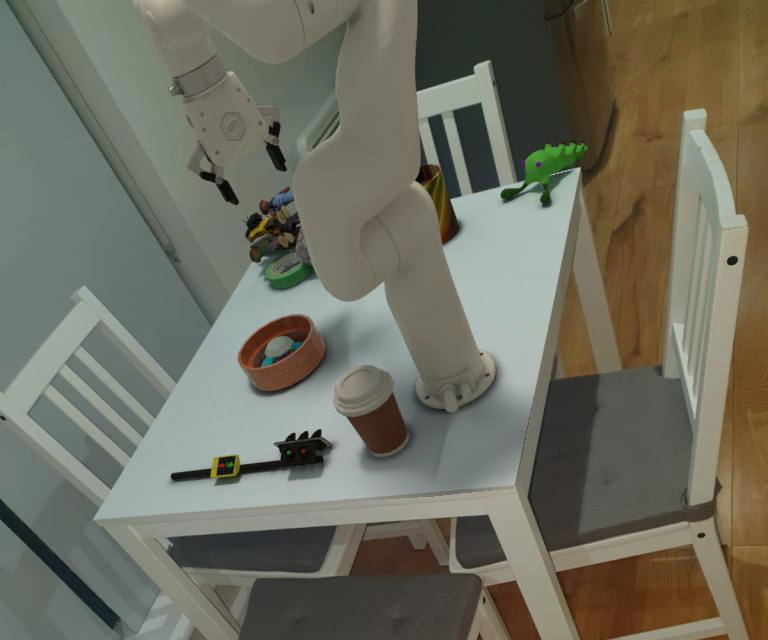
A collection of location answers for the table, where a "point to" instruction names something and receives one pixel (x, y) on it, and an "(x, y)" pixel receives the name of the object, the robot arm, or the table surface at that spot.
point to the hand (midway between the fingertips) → (258, 186)
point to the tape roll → (291, 276)
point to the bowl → (289, 367)
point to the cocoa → (372, 409)
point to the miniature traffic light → (291, 455)
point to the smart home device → (290, 245)
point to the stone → (302, 248)
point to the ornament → (279, 349)
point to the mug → (439, 200)
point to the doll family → (272, 224)
